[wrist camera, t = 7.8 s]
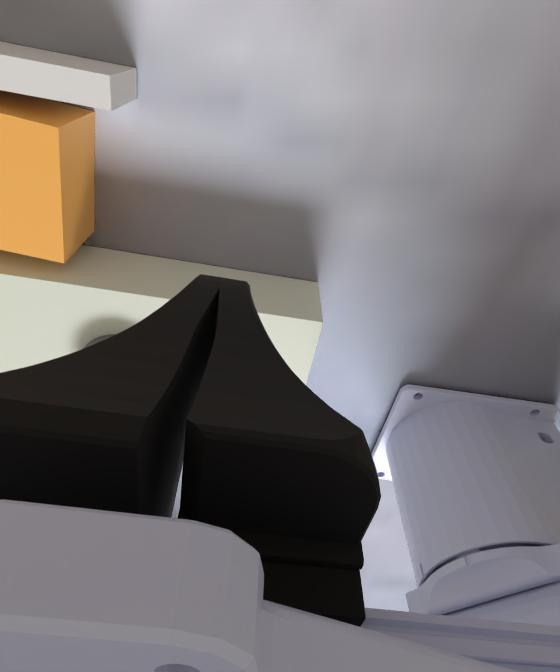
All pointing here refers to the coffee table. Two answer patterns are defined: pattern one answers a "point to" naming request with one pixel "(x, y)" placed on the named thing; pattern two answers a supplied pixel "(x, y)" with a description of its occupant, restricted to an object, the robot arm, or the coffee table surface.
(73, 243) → the chute block
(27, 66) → the white notched block
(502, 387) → the coffee table surface
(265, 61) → the coffee table surface
